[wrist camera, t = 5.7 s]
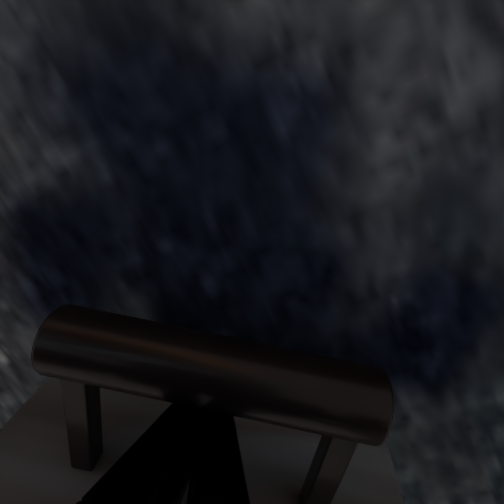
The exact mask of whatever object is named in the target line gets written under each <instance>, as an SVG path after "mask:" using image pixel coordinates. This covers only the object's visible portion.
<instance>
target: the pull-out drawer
mask: <svg viewBox="0 0 504 504" xmlns="http://www.w3.org/2000/svg"><path fill="white" fill-rule="evenodd" d="M31 359H32V365H33V368H34V369H35V371H37V372H38V373H39V374H41V375H44V376H48V378H47V379H46V381H45V382H44V383H43V384H42V385H41V386H40V387H39V388H38V389H37V390H36V392H35V393H34V394H33V395H32V396H31V397H30V398H29V399H28V400H27V401H26V403H25V404H24V405H23V406H22V407H21V408H20V409H19V410H18V411H17V412H16V414H15V415H14V416H13V417H12V418H11V419H10V420H9V421H8V422H7V423H6V425H5V426H4V427H3V428H2V429H1V430H0V504H76V503H77V502H78V501H81V503H82V497H83V496H84V495H85V494H86V493H87V492H88V491H89V490H90V489H91V487H92V486H93V485H94V484H95V483H96V482H97V481H98V480H99V479H100V478H101V477H102V476H103V475H104V474H105V473H106V472H107V471H108V470H109V469H110V468H111V467H112V466H113V465H114V463H115V462H116V461H117V460H118V459H119V458H120V457H121V456H122V455H123V454H124V453H125V452H126V451H127V450H128V449H129V448H130V447H131V446H132V445H133V444H134V443H135V442H136V441H137V439H138V438H139V437H140V436H141V435H142V434H143V433H144V432H145V431H146V430H147V429H148V428H149V427H150V426H151V425H152V424H153V423H154V422H155V421H156V420H157V419H158V418H159V417H160V415H161V414H162V413H163V412H164V411H165V410H166V409H167V408H168V407H169V406H170V405H171V404H172V403H174V404H179V405H184V406H188V407H193V408H198V409H202V410H207V411H212V412H216V413H221V414H226V415H230V416H234V421H235V426H236V432H237V437H238V442H239V447H240V453H241V458H242V463H243V468H244V474H245V479H246V484H247V490H248V495H249V500H250V504H404V501H403V498H402V494H401V491H400V487H399V484H398V480H397V477H396V473H395V470H394V466H393V463H392V459H391V456H390V452H389V449H388V445H387V442H386V439H387V437H388V435H389V432H390V429H391V425H392V418H393V393H392V387H391V383H390V380H389V378H388V376H387V374H386V373H385V371H383V370H382V369H381V368H379V367H374V366H369V365H364V364H359V363H355V362H350V361H345V360H340V359H335V358H330V357H325V356H320V355H316V354H311V353H306V352H301V351H296V350H291V349H286V348H281V347H277V346H272V345H267V344H262V343H257V342H252V341H247V340H242V339H238V338H233V337H228V336H223V335H218V334H213V333H208V332H203V331H199V330H194V329H189V328H184V327H179V326H174V325H169V324H164V323H160V322H155V321H150V320H145V319H140V318H135V317H130V316H125V315H121V314H116V313H111V312H106V311H101V310H96V309H91V308H86V307H82V306H77V305H72V304H67V305H62V306H59V307H58V308H56V309H55V310H53V311H52V312H51V313H50V314H49V315H48V316H47V318H46V319H45V320H44V322H43V323H42V325H41V327H40V328H39V330H38V332H37V335H36V337H35V340H34V343H33V347H32V354H31ZM189 482H190V481H189ZM188 489H189V484H188V487H187V490H186V493H185V496H184V498H183V501H182V504H186V503H187V496H188Z"/></svg>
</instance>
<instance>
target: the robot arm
mask: <svg viewBox="0 0 504 504" xmlns="http://www.w3.org/2000/svg"><path fill="white" fill-rule="evenodd" d="M189 481H190V482H189ZM188 484H189V489H188V496H187V503H186V504H250V500H249V495H248V490H247V484H246V479H245V474H244V468H243V463H242V458H241V453H240V447H239V442H238V437H237V432H236V426H235V421H234V416H230V415H226V414H221V413H216V412H212V411H207V410H202V409H198V408H193V407H188V406H184V405H179V404H174V403H172V404H171V405H170V406H169V407H168V408H167V409H166V410H165V411H164V412H163V413H162V414H161V415H160V417H159V418H158V419H157V420H156V421H155V422H154V423H153V424H152V425H151V426H150V427H149V428H148V429H147V430H146V431H145V432H144V433H143V434H142V435H141V436H140V437H139V438H138V439H137V441H136V442H135V443H134V444H133V445H132V446H131V447H130V448H129V449H128V450H127V451H126V452H125V453H124V454H123V455H122V456H121V457H120V458H119V459H118V460H117V461H116V462H115V463H114V465H113V466H112V467H111V468H110V469H109V470H108V471H107V472H106V473H105V474H104V475H103V476H102V477H101V478H100V479H99V480H98V481H97V482H96V483H95V484H94V485H93V486H92V487H91V489H90V490H89V491H88V492H87V493H86V494H85V495H84V496H83V497H82V503H81V501H78V502H77V503H76V504H182V501H183V498H184V496H185V493H186V490H187V487H188Z"/></svg>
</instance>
